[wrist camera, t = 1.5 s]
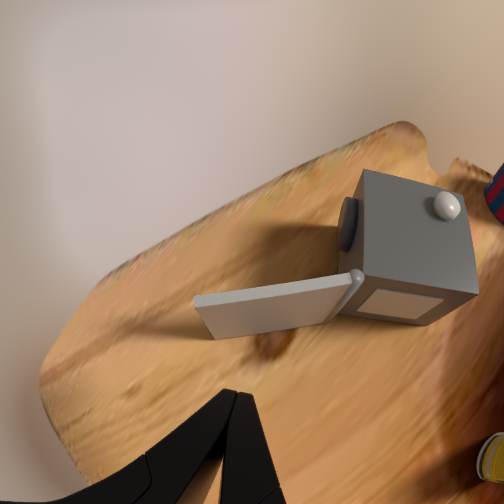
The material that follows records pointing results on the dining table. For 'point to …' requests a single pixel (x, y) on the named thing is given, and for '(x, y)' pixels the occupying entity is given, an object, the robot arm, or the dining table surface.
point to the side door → (276, 305)
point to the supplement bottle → (492, 459)
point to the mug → (496, 194)
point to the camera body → (406, 250)
